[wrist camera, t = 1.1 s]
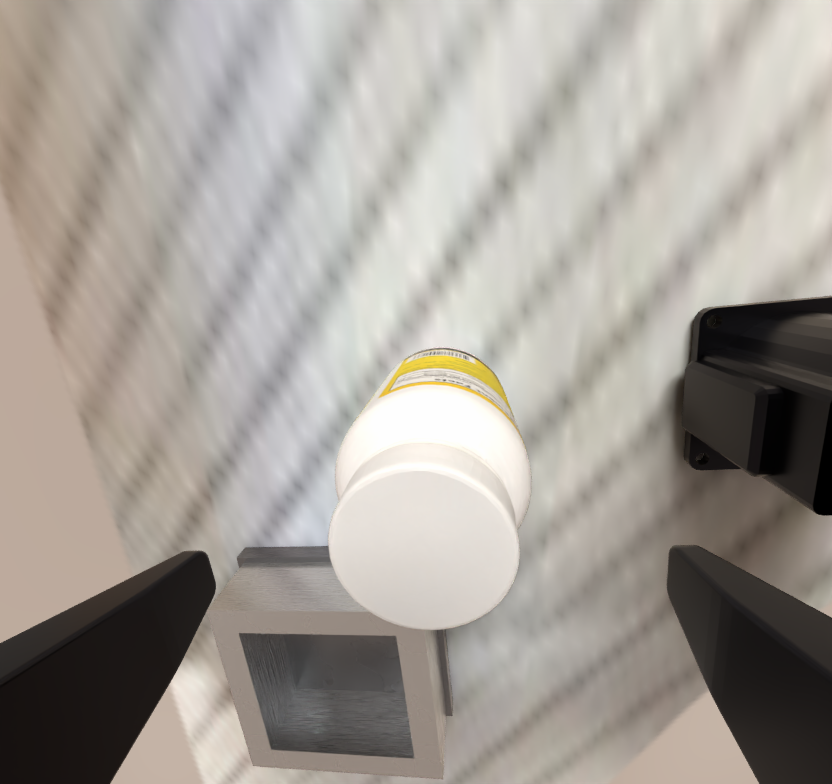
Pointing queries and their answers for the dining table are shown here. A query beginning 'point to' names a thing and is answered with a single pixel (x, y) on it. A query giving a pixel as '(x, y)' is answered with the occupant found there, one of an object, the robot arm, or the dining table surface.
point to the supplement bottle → (431, 494)
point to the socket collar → (328, 671)
